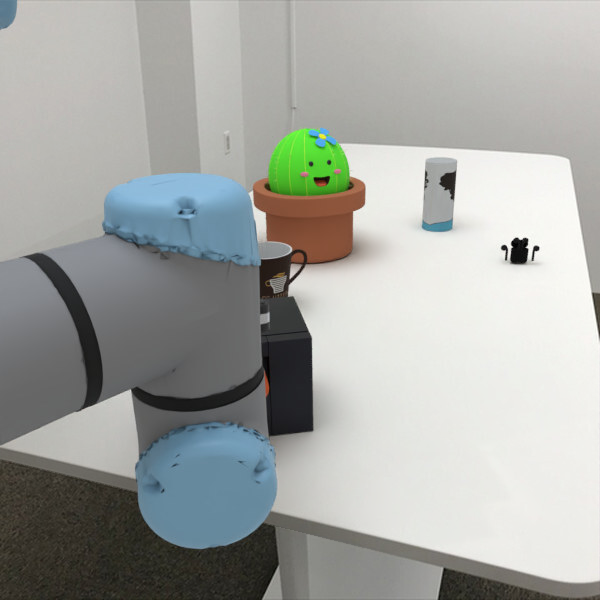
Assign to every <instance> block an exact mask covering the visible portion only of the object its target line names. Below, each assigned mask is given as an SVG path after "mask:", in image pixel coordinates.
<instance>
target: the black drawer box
mask: <svg viewBox="0 0 600 600" xmlns="http://www.w3.org/2000/svg"><path fill="white" fill-rule="evenodd" d="M263 300H266V301H268V302H269V315H270V330H268V331H266V332H261V352H262V358H263V368H264V370H265V373H266V377H267V380H268V384H269V392H268V395H267V396H266V411H267V426H268V434H269V437H274V436H281V435H290V434H298V433H305V432H313V431H314V383H313V382H314V381H313V380H314V376H313V375H314V374H313V369H314V368H313V337H312V334H311V332H310V330H309V328H308V326H307V323H306V321H305V319H304V317H303V314H302V312H301V310H300V308H299V305H298V303H297V301H296V299H295V296H293V295H292V296H291V295H290V296H289V295H288V297H278V298H267V299H263Z"/></svg>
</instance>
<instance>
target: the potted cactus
mask: <svg viewBox="0 0 600 600" xmlns="http://www.w3.org/2000/svg"><path fill="white" fill-rule="evenodd" d="M315 127H316V126H314V127H313V128H310V127H308V128H307V127H306V125H303V128H302V127H300V128H299V129H297V130H296V129H295V128H294V130H293V131H291V130H289V131H288V133H287V135H285V136H284V137H283V138H282V137H280V139H278V141H279V142H278V143H277V145H276V146H275V145H274V144H273V146H272V147H273V152H272V153H271V156H270V160H268V162H269V163H268V169H267V172H265V177H263V178H262V179H259V180H257V181H255V182H254V183H253V185H252V198H253V199H252V200H253V206H254V207H255V208H256V209H257V210H258V211H260V212H262V213H264V214H265V228H266V229H265V230H266V242H280V243H285V244H287V245H289V246H291V247H292V251H293V250H296V249H300V250H303V251H305V252H306V254H307V264H314V263H324V262H331V261H336V260H339V259H342V258H345V257H346V256H348V255H349V254H351V253H352V251H353V248H354V212H356V211H358V210H360V209H362V208H364V206H365V205H366V183H365V182H364V181H362V180H361V179H360V178H357V177H354V176H350V175H351V172H353V170H351V169H350V164H349V160H348V158H347V156H346V153H345V152H347V149H346V150H344V149H343V148H342V146H341V145H342V144H339V142H338V141H337V139H336V138H335V137H333V136H331V135H330V130H328V129H327V128H324V127H320V126H317V127H316V128H315ZM303 262H304V256H303V254H302V253H296V254H294V255H293V256H292V259H291V263H294V264H295V263H296V264H303Z"/></svg>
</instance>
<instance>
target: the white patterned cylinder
mask: <svg viewBox="0 0 600 600" xmlns="http://www.w3.org/2000/svg"><path fill="white" fill-rule="evenodd" d="M424 166H425V167H424V183H423V199H422V201H423V203H422V220H421V228H422V229H423V230H426V231H428V232H435V233H436V232H437V233H439V232H441V233H442V232H448V231H451V230H452V229H453V226H454V225H453V224H454V223H453V222H454V212H455V198H456V197H455V196H456V184H457V172H458V171H457V170H458V169H457V168H458V159H456V158H452V157H446V156H445V157H444V156H438V157H437V156H436V157H428V158H426V159H425V165H424Z"/></svg>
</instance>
